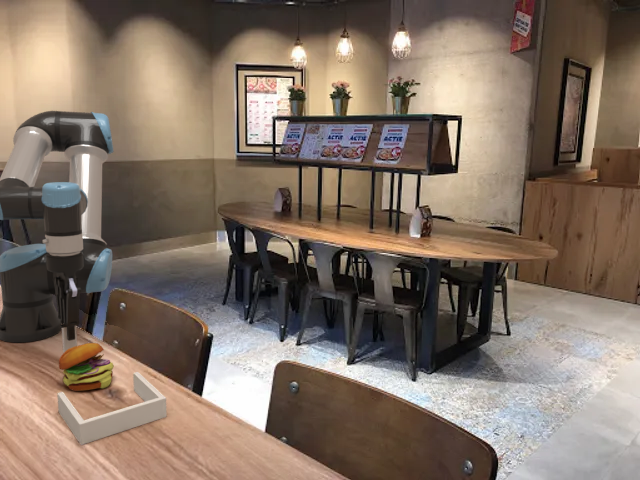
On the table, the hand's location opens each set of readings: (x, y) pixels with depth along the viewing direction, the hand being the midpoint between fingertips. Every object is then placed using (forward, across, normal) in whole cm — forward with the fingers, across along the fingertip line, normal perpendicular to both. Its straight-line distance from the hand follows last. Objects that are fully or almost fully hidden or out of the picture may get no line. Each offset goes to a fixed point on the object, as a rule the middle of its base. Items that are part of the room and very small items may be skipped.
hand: (70, 351), depth 123 cm
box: (+4, +26, 0) cm, 26 cm away
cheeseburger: (+4, +10, 0) cm, 11 cm away
